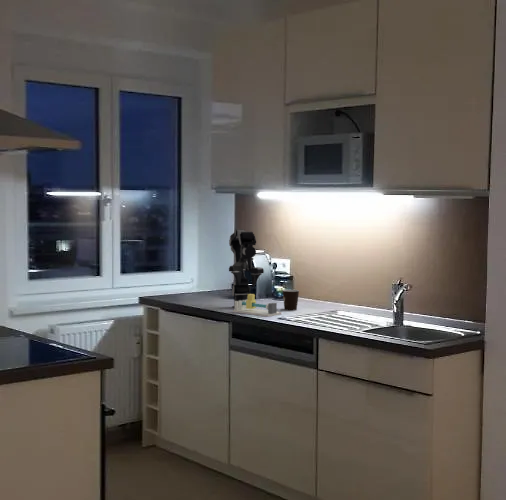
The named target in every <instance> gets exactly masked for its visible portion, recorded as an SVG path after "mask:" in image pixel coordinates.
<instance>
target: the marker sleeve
mask: <svg viewBox="0 0 506 500" xmlns="http://www.w3.org/2000/svg"><path fill="white" fill-rule="evenodd" d="M255 297H256V295H255V293H250V294H248V296H247V299H248V301H246V309H257V307H254V306H252V303H256V304H257V301H256V298H255Z"/></svg>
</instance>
